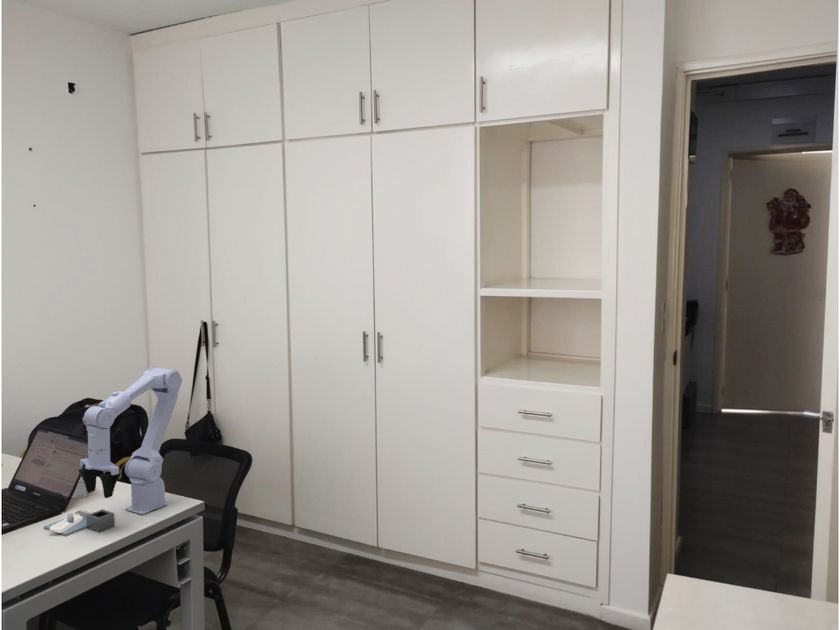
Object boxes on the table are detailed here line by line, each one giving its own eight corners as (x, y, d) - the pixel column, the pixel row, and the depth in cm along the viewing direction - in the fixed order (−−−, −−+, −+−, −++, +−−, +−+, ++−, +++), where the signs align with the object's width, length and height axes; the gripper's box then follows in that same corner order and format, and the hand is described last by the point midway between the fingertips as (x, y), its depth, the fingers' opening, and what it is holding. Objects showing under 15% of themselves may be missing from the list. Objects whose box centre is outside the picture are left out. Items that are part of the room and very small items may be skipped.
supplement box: (63, 491, 229) (62, 454, 227) (88, 489, 232) (87, 452, 230) (60, 500, 222) (59, 461, 221) (86, 497, 225) (85, 459, 223)
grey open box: (102, 522, 206) (102, 509, 206) (114, 526, 203) (114, 513, 203) (87, 528, 201) (86, 515, 201) (98, 532, 199) (98, 519, 198)
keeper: (77, 516, 210) (76, 504, 210) (98, 523, 205) (98, 511, 205) (43, 528, 201) (43, 516, 200) (65, 536, 196) (65, 524, 196)
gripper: (70, 447, 200) (70, 493, 201) (103, 456, 193) (104, 503, 194) (92, 441, 206) (92, 486, 207) (125, 450, 199) (125, 496, 200)
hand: (99, 494), depth 201 cm, fingers open, 7 cm apart
